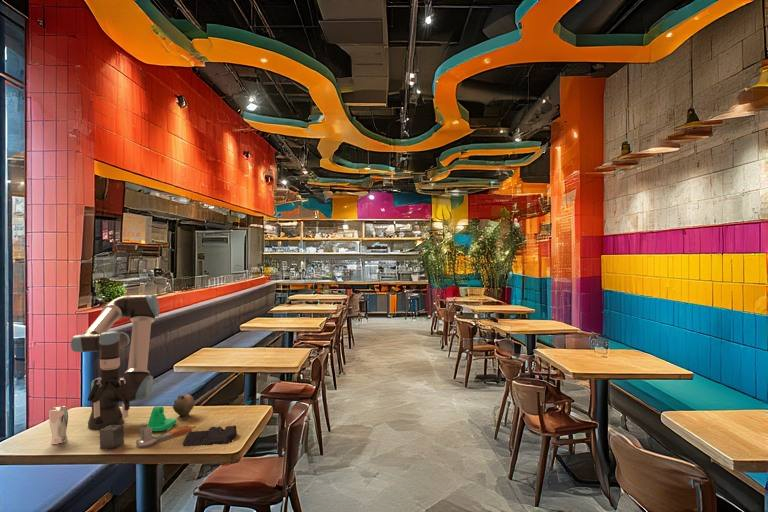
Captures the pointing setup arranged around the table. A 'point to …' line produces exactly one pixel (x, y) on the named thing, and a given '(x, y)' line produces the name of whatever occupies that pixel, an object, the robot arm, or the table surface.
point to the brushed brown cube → (112, 437)
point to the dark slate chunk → (210, 436)
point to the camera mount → (160, 420)
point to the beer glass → (58, 424)
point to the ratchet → (150, 440)
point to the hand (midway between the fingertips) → (111, 417)
